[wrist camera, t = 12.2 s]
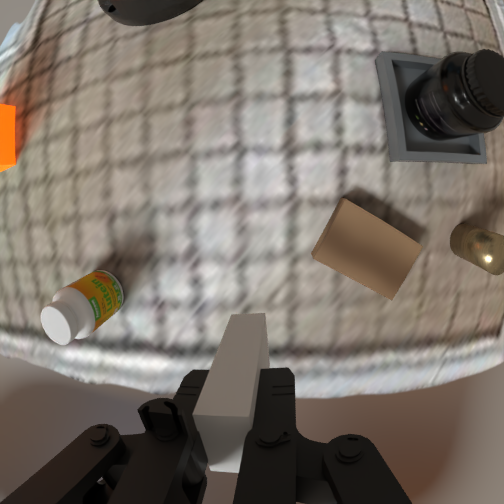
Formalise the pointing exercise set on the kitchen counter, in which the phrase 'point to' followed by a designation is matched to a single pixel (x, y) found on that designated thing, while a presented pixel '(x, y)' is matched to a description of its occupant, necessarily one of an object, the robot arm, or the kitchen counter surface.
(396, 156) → the tray
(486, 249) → the cylinder
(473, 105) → the supplement bottle
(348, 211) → the tan cardboard box
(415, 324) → the kitchen counter surface
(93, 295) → the supplement bottle
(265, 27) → the kitchen counter surface
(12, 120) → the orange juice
